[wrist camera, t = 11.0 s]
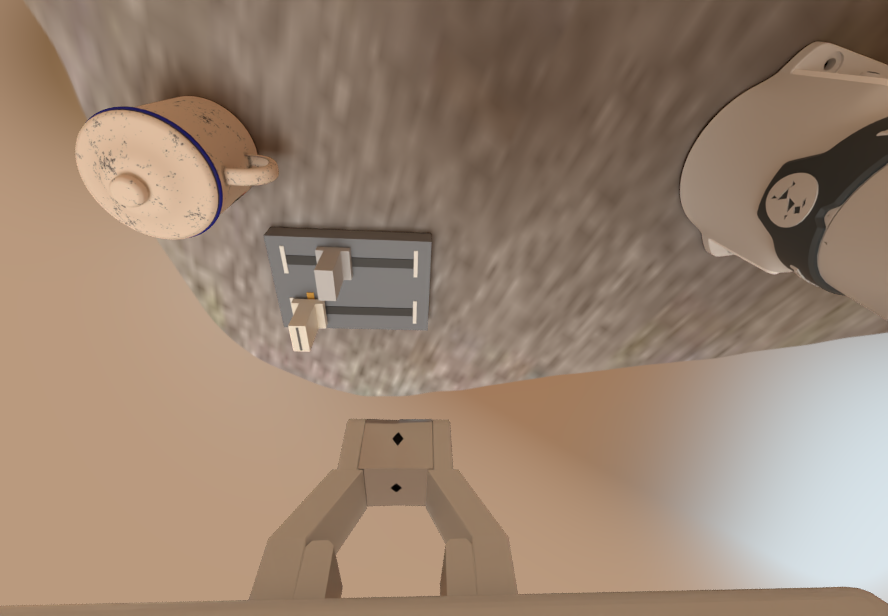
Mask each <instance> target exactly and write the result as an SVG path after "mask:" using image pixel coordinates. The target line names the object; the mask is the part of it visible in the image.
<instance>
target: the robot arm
mask: <svg viewBox="0 0 888 616" xmlns="http://www.w3.org/2000/svg"><path fill="white" fill-rule="evenodd" d="M827 60H828V63H827V65H826V66H825V68H824V65H825V63H826V62H827ZM680 198H681V204H682V207H683V210H684V212H685V214H686V216H687V217H688V219H689V220H690V221H691V222H692V223H693V224H694V225H695V226H696V227H697V228H698V229H699V230H700V232H701V234H702V240H703V244H704V248H705V250H706V251H707V252H708V253H710V254H712V255H714V256H717V257H719V256H728V255H737V256H738V257H740V258H742V259H744V260H746V261H747V262H749V263H751V264H753V265H754V266H756V267H758V268H760V269H762V270H764V271H765V272H768V273H771V274H778V273H779V272H794V273H796V274H797V275H798V276H799V277H800V278H802V279H803V280H805V281H807V282H808V283H810V284H812V285H815V286H817V287H821V288H822V289H824V290H826V291H828V292H831V293H834V294H838V295H845V296H848V297H849V298H851V299H853V300H854V301H856V302H858V303H859V304H861V305H862V306H864V307H866V308H867V309H869V310H871V311H872V312H874V313H876V314H877V315H879V316H880V317H882V318H884V319H885V320H887V321H888V65H887V64H884V63H881V62H879V61H876V60H874V59H871V58H868V57H866V56H863V55H861V54H858V53H855V52H853V51H850V50H848V49H845V48H843V47H840V46H837V45H835V44H832V43H827V42H821V41H818V42H814V43H811V44H810V45H808V46H807V47H805V48H804V49H803V50H801V51H800V52H799V53H798V54H797V55H796V56H795V57H793V58H792V59H791V60H790V61H789V62H788V63H787V64H786V65H785V66H784V67H783V68H782V69H781V70H780V71H779V72H778V73H777V74H775V75H774V76H772V77H771V78H769V79H767V80H766V81H764V82H762V83H760V84H758V85H756V86H755V87H753V88H751V89H749V90H748V91H746V92H744V93H743V94H741V95H740V96H738V97H737V98H736V99H734V100H733V101H732V102H730V103H729V104H728V105H727V106H726V107H725V108H723V109H722V110H721V111H720V112H719V113H718V114H717V115H716V116H715V117H714V118H713V119H712V121H711V122H710V123H709V124H708V125H707V126H706V128H705V129H704V130H703V132H702V133H701V134H700V136H699V137H698V139H697V140H696V142H695V144H694V145H693V147H692V149H691V151H690V153H689V155H688V158H687V160H686V163H685V165H684V168H683V172H682V176H681V182H680ZM450 429H451V428H450V422H449V420H431V419H406V420H403V419H401V420H378V419H349V420H348V422H347V425H346V430H345V435H344V440H343V444H342V449H341V454H340V459H339V463H338V468H337V470H331V471H330V472H329V474H328V475H327V476H326V477H325V478H324V479H323V480H322V481H321V482H320V483H319V485H318V486H317V487H316V488H315V489H314V490H313V491H312V492H311V493H310V494H309V495H308V497H306V499H305V500H304V501H303V502H302V503H301V504H300V505H299V506H298V507H297V509H295V511H294V512H293V513H292V514H291V515H290V516H289V517H288V518H287V519H286V520H285V521H284V523H283V524H282V525H281V526H280V527H279V528H278V529H277V530H276V531H275V532H274V533H273V535H272V536H271V537H270V538H269V539H268V541H267V545H266V548H265V551H264V554H263V557H262V560H261V563H260V566H259V570H258V573H257V576H256V579H255V582H254V585H253V588H252V591H251V594H250V597H249V600H242V601H241V600H238V601H194V602H154V603H153V602H149V603H108V604H107V603H106V604H64V605H62V604H61V605H20V606H19V605H18V606H0V616H888V603H886V602H884V601H883V600H881V599H880V598H878V597H877V596H875V595H874V594H872V593H870V592H868V591H865V590H862V589H859V588H851V587H826V588H824V587H823V588H781V589H780V588H778V589H734V590H689V591H688V590H687V591H647V592H646V591H645V592H644V591H643V592H602V593H601V592H599V593H598V592H597V593H551V594H518V591H517V585H516V580H515V574H514V567H513V562H512V556H511V550H510V544H509V538H508V536H507V535H506V533H505V532H504V530H503V529H502V528H501V526H500V525H499V524H498V522H497V521H496V520H495V518H494V517H493V516H492V514H491V513H490V512H489V510H488V509H487V508H486V506H485V505H484V504H483V502H482V501H481V500H480V498H479V497H478V496H477V494H476V493H475V491H474V490H473V489H472V488H471V486H470V485H469V483H468V482H467V481H466V479H465V478H464V477H463V476H462V474H461V473H460V471H459V470H455V469H453V459H452V444H451V430H450ZM390 505H406V506H408V505H409V506H410V505H411V506H426V509H427V511H428V513H429V514H430V516H431V518H432V520H433V522H434V524H435V525H436V527H437V529H438V531H439V533H440V535H441V536H442V538H443V540H444V542H445V544H446V546H445V553H444V560H443V567H442V574H441V581H440V596H416V597H371V598H341V594H342V582H341V578H340V573H339V568H338V563H337V559H336V553H337V552H338V551H339V549H340V548H341V546H342V545H343V543H344V542H345V540H346V539H347V537H348V535H349V534H350V533H351V531H352V530H353V528H354V527H355V525H356V524H357V522H358V521H359V519H360V518H361V516H362V515H363V514H364V512H365V511H366V509H367V506H390Z"/></svg>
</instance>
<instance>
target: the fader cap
mask: <svg viewBox="0 0 888 616" xmlns="http://www.w3.org/2000/svg"><path fill="white" fill-rule="evenodd" d="M291 305H292V310H293V317H292V319H291V321H290V323H289V325H288V328H289V332H290V337H291V341H292V346H293V351H310V350H311V347H312V345H313V342H314V339H315V337H316V334H317V331H318V329H319V328H326V327H327V324H328V322H327V315H326V308H325V301H319V300H318V299H293V300H292V302H291Z"/></svg>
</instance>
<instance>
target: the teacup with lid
mask: <svg viewBox="0 0 888 616" xmlns="http://www.w3.org/2000/svg"><path fill="white" fill-rule="evenodd" d="M75 149H76V150H75V155H76V162H77V167H78V170H79V173H80V175H81V178H82V180H83V182H84V184H85V185H86V187H87V188H88V190H89V192H90V193H91V194H92V196H93V197H94V198H95V200H96V201H97V202H98V203H99V204H100V205H101V206H102V207H103V208H104V209H105V210H106V211H107V212H108V213H109V214H111V215H112V216H113V217H114V218H116V219H117V220H118V221H120V222H122V223H123V224H125V225H126V226H128V227H130V228H132V229H134V230H136V231H138V232H141V233H143V234H146V235H149V236H153V237H157V238H162V239H184V238H190V237H194V236H197V235H199V234H202V233H203V232H205V231H207V230H208V229H209V228H210V227H211V226H212V225H213V224H214V223H215V222H216V220H217V219H218V217H219V215H220V214H221V213H222V212H224V211H225V210H226V209H227V208H228V207H230V206H231V205H232V204H233V203H234V202H235V201H237V200H238V199H239V198H240V197H241V196H242V195H244V194H245V193H246V192H247V191H248V190H249V189H250V188H251V187H252V186H255V185H263V184H267V183H270V182H272V181H274V180H275V179H276V178H277V177H278V175H279V169H278V165H277V163H276V161H274V160H273V159H272V158H269V157H266V156H262V155H257V151H256V148H255V145H254V142H253V140H252V138H251V136H250V134H249V133H248V131H247V130H246V128H245V127H244V126H243V124H242V123H241V122H240V121H239V120H238V119H237V118H236V117H235V116H234V115H233V114H232V113H230V112H229V111H228V110H226V109H225V108H224V107H222V106H220V105H219V104H217V103H215V102H213V101H210V100H207V99H204V98H200V97H195V96H181V97H176V98H172V99H167V100H163V101H159V102H154V103H150V104H146V105H141V106H137V107H113V108H108V109H105V110H102V111H100V112H98V113H96V114H94V115H93V116H92V117H90V118H89V119H88V120H87V121H86V123H85V124H84V125H83V127H82V129H81V130H80V132H79V134H78V137H77V141H76V148H75Z"/></svg>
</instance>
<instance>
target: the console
mask: <svg viewBox="0 0 888 616" xmlns="http://www.w3.org/2000/svg"><path fill="white" fill-rule="evenodd" d="M264 240H265V244H266V249H267V253H268V258H269V262H270V267H271V271H272V276H273V280H274V284H275V289H276V293H277V298H278V302H279V307H280V311H281V315H282V320H283V324H284V327H288V325H289V323H290V321H291V319H292V317H293V310H292V305H291V302H292V300H293V299H318V300H319V301H325V308H326V315H327V322H328V324H327V327H326V328H349V329H392V330H428V310H429V288H430V265H431V243H432V241H431V233H405V232H380V231H355V230H330V229H304V228H279V227H270V228H269V230H268V231H267V232H266V233H265V234H264Z"/></svg>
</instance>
